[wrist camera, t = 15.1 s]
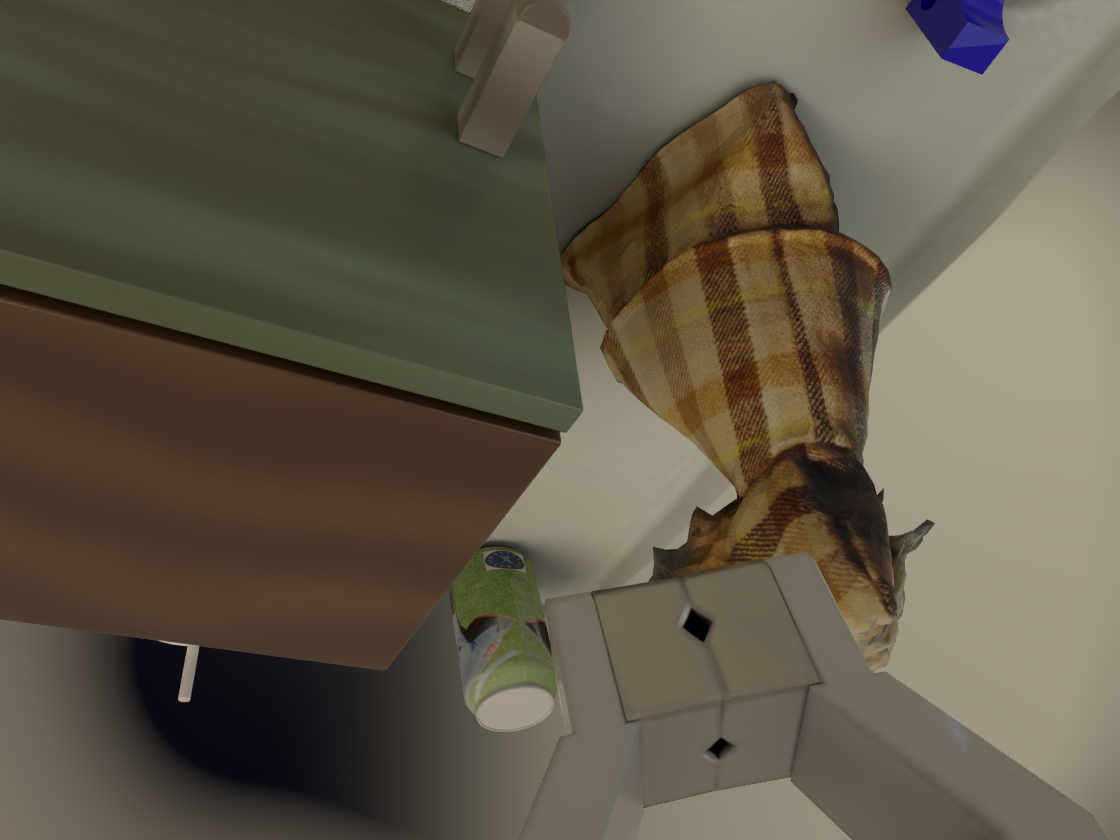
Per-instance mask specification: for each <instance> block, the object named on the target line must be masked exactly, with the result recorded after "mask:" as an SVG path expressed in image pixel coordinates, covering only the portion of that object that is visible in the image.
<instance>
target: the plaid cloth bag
mask: <svg viewBox="0 0 1120 840" xmlns="http://www.w3.org/2000/svg"><path fill="white" fill-rule="evenodd" d="M796 105H797V98H796V96H795V95H794V94H793V93H789V92H787V91H786V90H785V89H783V87H782V86H781V85H779V84H778V83H776V82H775V81H772V82H769V83H767V84H764V85H762V86H758V87H753V88H751V89H749V90H747V91H745V92H743V93H741V94H740V95H738V96H737V97H736V98H734V99H733V100H731V101H730V102H729V103H728V104H726V105H725V106H724V107H723V108H721V109H719V110H718V111H716V112H714V113H713V114H711V115H710V116H708V117H707V118H705V119H703V120H702V121H700V122H698V123H697V124H695V125H694V126H692V127H691V128H689V129H688V130H686V131H685V132H683V133H682V134H680V135H679V136H677V137H676V138H675V139H674V140H672V141H671V142H670V143H669V144H667V145H666V146H665V147H663V148H662V149H660V150H659V152H658V153H657V154H656V155H655V156H654V157H653V158H652V159H651V160H650V161H649V162H648V164H647V165H646V166H645V167H644V169H643V170H642V171H641V172H640V173H639V175H638V176H637V177H636V179H635V180H634V182H633V183H632V184H631V185H630V186H629V187H628V188H627V189H626V191H624V192H623V193H622V194H621V196H620V197H619V199H618V201H617V202H616V203H613V207H611V208H610V209H609V210H607V211H606V212H605V213H603V214H602V215H601V216H600V217H599V219H597V220H595V221H594V222H592V223H591V224H590V225H588V226H587V227H586V228H585V230H584V231H583V232H582V233H580V234H579V235H578V236H577V237H576V238H574V240H573V241H572V242H571V243H570V244H569V245H568V247H567V248H566V250H565V252H564V253H563V254H562V256H561V257H560V258H561V265H562V271H563V278H564V282H565V284H567V285H568V286H570V287H571V288H573V289H575V290H578V291H581V292H583V293H585V294H587V295H588V297H589V298H590V300H591V301H592V303H593V305H594V306H595V308H596V309H597V311H598V313H599V315H600V317H601V319H602V321H603V322H604V324H605V325H606V327H607V328H608V329H607V331H606V333H605V335H604V339H603V341H602V344H601V346H600V349H601V351H602V353H603V355H604V357H605V359H606V362H607V364H608V366H609V368H610V370H611V371H612V373H613V375H614V377H615V378H616V380H617V382H619V383H622V384H624V386H625V387H626V388H627V389H628V390H629V391H630V392H631V393H632V394H633V395H634V396H636V397H637V398H638V399H639V400H640V401H641V402H642V403H643V404H645V405H646V406H647V407H648V408H650V409H651V410H652V411H653V412H654V413H656V414H657V415H658V416H659V417H660V418H662V419H663V420H665V421H666V422H667V423H669V424H670V425H671V426H673V427H674V428H675V429H676V430H678V431H679V432H680V433H682V434H683V435H684V436H686V437H687V438H688V439H690V440H691V441H692V442H693V443H694V444H695V445H696V446H697V447H698V448H699V449H700V450H701V451H702V452H703V453H704V454H705V455H706V456H707V457H708V458H709V459H710V460H711V461H712V462H713V464H714V465H715V466H716V467H717V468H718V469H719V470H720V472H721V473H722V474H723V475H724V476H725V477H726V478H727V479H728V480H729V481H730V482H731V483H732V484H733V486H734V487H735V489H736V493H737V499H735V500H734V501H733V502H731V503H730V504H728V505H727V506H725V507H724V508H723V509H721V510H720V511H718V512H717V513H716V514H714V515H713V516H712V515H710V514H709V513H707V512H705V511H704V510H702V509H700V508H699V507H696V509H695V510H694V512H693V514H692V518H691V522H690V528H689V534H688V540H687V543H685V544H684V545H682V546H681V547H680V548H678V549H671V550H664V549H660V548H656V547H653V554H654V568H653V575H652V577H651V578H650V580H649V582H652V581H658V580H664V579H670V578H675V577H676V576H678V575H682V574H687V573H692V572H697V571H702V570H707V569H712V568H717V567H722V566H727V565H731V564H736V563H741V562H746V561H751V560H756V559H760V560H763V559H768V558H773V557H778V556H783V555H788V554H793V553H797V552H807V553H808V554H809V555H810V556H812V557H813V558H814V560H815V562H816V564H817V566H818V568H819V570H820V572H821V573H822V575H823V577H824V579H825V581H826V583H827V585H828V587H829V589H830V591H831V593H832V595H833V597H834V599H835V601H836V603H837V605H838V607H839V609H840V611H841V613H842V615H843V617H844V619H845V621H846V623H847V625H848V627H849V629H850V631H851V633H852V635H853V636H854V638H855V640H856V642H857V644H858V646H859V648H860V650H861V652H862V654H863V656H864V658H865V660H866V662H867V664H868V666H869V668H870V670H871V672H872V673H873V672H874V671H876V670H877V669H878V668H881V667H885V666H886V665H887V664H888V663H889V659H890V653H891V650H892V648H893V645H894V643H895V641H896V637H897V634H898V622H897V621H898V619H899V618H900V617H901V616H902V612H903V607H904V601H905V594H904V583H905V578H906V572H905V558H906V555H907V554H908V553H909V552H911V551H913V550H915V549H916V548H917V547H918V546H919V544H920V543H921V542H922V541H923V536H924V535H926V534H927V533H928V531H929V530H930V529H931V528H932V527H933V525H934V523H933V522H931V521H929V520H926V521H925V522H924V523H922V524H921V525H920V526H919V527H917V528H916V529H915V530H913V531H911V532H908V533H905V534H902V535H899V536H888V528H887V520H886V515H885V510H884V506H883V504H882V501H883V493H884V489H882V491H881V492H880V493H879V494H878V495H877V494H876V490H875V486H874V484H873V482H872V480H871V479H870V477H869V475H868V473H867V472H866V470H865V468H864V467H863V456H862V453H863V449H864V445H865V442H866V439H867V435H868V432H867V431H868V429H867V428H868V424H867V423H868V415H869V387H870V382H871V376H872V369H873V360H874V353H875V349H876V345H877V341H878V334H879V328H880V322H881V319H882V316H883V313H884V310H885V307H886V304H887V301H888V298H889V296H890V293H891V290H892V285H891V281H890V276H889V272H888V270H887V268H886V267H885V265H884V264H883V262H882V261H881V259H880V258H879V257H878V256H877V255H876V254H875V253H873V252H872V251H871V250H869V249H868V248H867V247H866V246H864V245H862V244H861V243H859V242H857V241H856V240H854V239H852V238H850V237H848V236H846V235H843V234H841V233H839V219H838V209H837V207H836V204H835V202H834V195H833V192H832V189H831V187H830V175H829V174H828V172H827V171H826V169H825V168H824V166H823V165H822V163H821V161H820V159H819V157H818V155H817V153H816V151H815V149H814V147H813V145H812V143H811V141H810V139H809V137H808V134H807V132H806V130H805V128H804V126H803V125H802V123H801V122H800V121H799V119H798V117H797V115H796V113H795V111H794V109H795V107H796Z"/></svg>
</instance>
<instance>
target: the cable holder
mask: <svg viewBox="0 0 1120 840" xmlns="http://www.w3.org/2000/svg"><path fill="white" fill-rule="evenodd" d="M1003 2H1004V0H911V2H910V3H909V5H908V6H907V8H906V10H907V11H908V13H909V14H910V16H911V17H912V18H913V20H914V21H915V22H916V24H917V25H918V27H919V28H920V29H921V31H922V32H923V34H924V35H925V36H926V38H927V39H928V41H929V42H930V43H931V45H932V46H933V47H934V49H935V50H936V52H937V53H938V54H939V56H940V57H941V59H944V60H946V61H949V62H951V63H954V64H957V65H959V66H962V67H964V68H967V69H969V70H972V71H974V72H977V73H979V74H983V73H984V72H985V70H986V69H987V68H988V66H989V65H990V64H991V62H992V61H993V60H994V59H995V57H996V56H997V55H998V53H999V52H1000V51H1001V50H1002V48H1003V47H1004V46H1005V44H1006V43H1007V42H1008V40H1009V38H1008V36H1007V35H1006V33H1005V30H1004V27H1003V21H1002V9H1003Z"/></svg>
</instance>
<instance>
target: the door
mask: <svg viewBox="0 0 1120 840" xmlns="http://www.w3.org/2000/svg"><path fill="white" fill-rule="evenodd" d="M569 32H570V19H569V14H568V10H567V5H566V0H476V1H475V3H474V5H473V8H472V10H471V12H470V14H467V13H464V12H462V11H460V10H458V9H456V8H453V7H451V6H449V5H447V4H444V3H442V2H440V1H438V0H0V284H3V285H7V286H11V287H15V288H18V289H22V290H26V291H30V292H33V293H37V294H41V295H45V296H49V297H52V298H56V299H60V300H64V301H68V302H71V303H75V304H79V305H83V306H87V307H90V308H94V309H98V310H102V311H106V312H109V313H113V314H117V315H121V316H125V317H128V318H132V319H136V320H140V321H143V322H147V323H151V324H155V325H159V326H162V327H166V328H170V329H174V330H178V331H181V332H185V333H189V334H193V335H197V336H200V337H204V338H208V339H212V340H216V341H219V342H223V343H227V344H231V345H235V346H238V347H242V348H246V349H250V350H254V351H257V352H261V353H265V354H269V355H272V356H276V357H280V358H284V359H288V360H291V361H295V362H299V363H303V364H307V365H310V366H314V367H318V368H322V369H326V370H329V371H333V372H337V373H341V374H345V375H348V376H352V377H356V378H360V379H364V380H367V381H371V382H375V383H379V384H382V385H386V386H390V387H394V388H398V389H401V390H405V391H409V392H413V393H417V394H420V395H424V396H428V397H432V398H436V399H439V400H443V401H447V402H451V403H455V404H458V405H462V406H466V407H470V408H474V409H477V410H481V411H485V412H489V413H492V414H496V415H500V416H504V417H508V418H511V419H515V420H519V421H523V422H527V423H530V424H534V425H538V426H542V427H546V428H549V429H553V430H557V431H561V432H567V431H568V430H569V429H570V427H571V426H572V425H573V423H574V422H575V421H576V419H577V418H578V417H579V416H580V414H581V413H582V412H583V406H582V399H581V392H580V386H579V379H578V372H577V365H576V359H575V352H574V345H573V338H572V332H571V325H570V318H569V312H568V305H567V298H566V291H565V285H564V278H563V271H562V265H561V258H560V251H559V244H558V238H557V231H556V224H555V218H554V211H553V204H552V197H551V191H550V184H549V177H548V170H547V164H546V157H545V150H544V144H543V137H542V130H541V123H540V117H539V110H538V103H537V97H536V95H537V93H538V91H539V89H540V88H541V86H542V84H543V82H544V80H545V78H546V76H547V74H548V73H549V71H550V69H551V67H552V65H553V63H554V61H555V59H556V58H557V56H558V54H559V52H560V50H561V48H562V46H563V44H564V42H565V41H566V39H567V37H568V35H569Z"/></svg>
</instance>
